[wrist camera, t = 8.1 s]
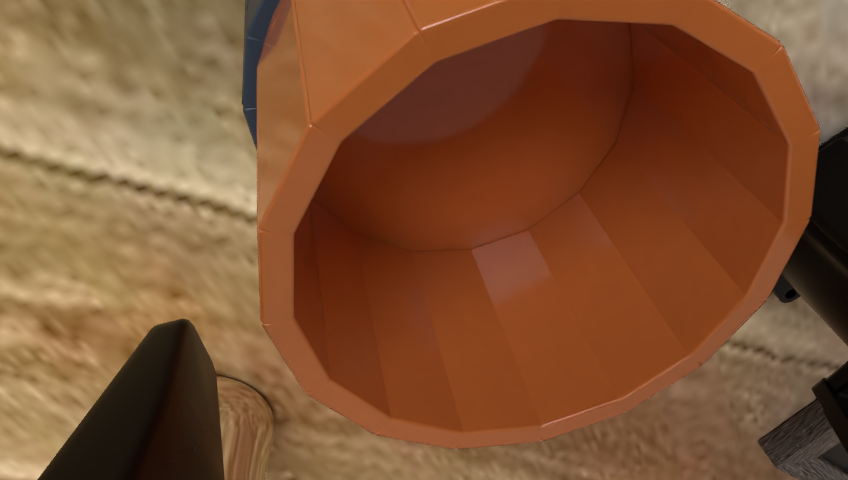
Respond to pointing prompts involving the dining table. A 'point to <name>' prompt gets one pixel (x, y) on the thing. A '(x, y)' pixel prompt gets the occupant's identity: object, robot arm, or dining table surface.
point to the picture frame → (807, 447)
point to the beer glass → (244, 430)
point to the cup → (519, 204)
